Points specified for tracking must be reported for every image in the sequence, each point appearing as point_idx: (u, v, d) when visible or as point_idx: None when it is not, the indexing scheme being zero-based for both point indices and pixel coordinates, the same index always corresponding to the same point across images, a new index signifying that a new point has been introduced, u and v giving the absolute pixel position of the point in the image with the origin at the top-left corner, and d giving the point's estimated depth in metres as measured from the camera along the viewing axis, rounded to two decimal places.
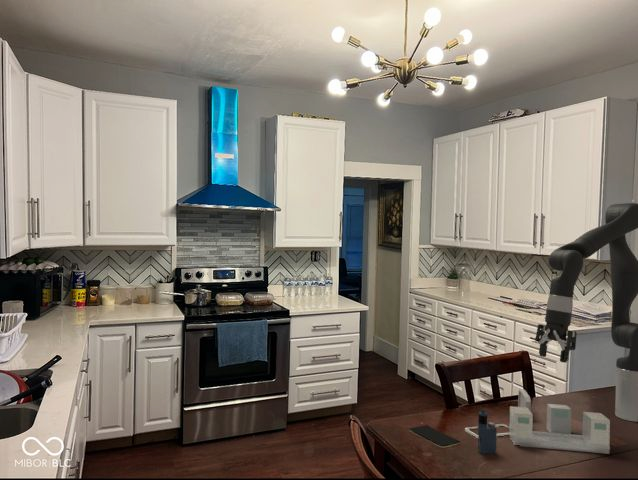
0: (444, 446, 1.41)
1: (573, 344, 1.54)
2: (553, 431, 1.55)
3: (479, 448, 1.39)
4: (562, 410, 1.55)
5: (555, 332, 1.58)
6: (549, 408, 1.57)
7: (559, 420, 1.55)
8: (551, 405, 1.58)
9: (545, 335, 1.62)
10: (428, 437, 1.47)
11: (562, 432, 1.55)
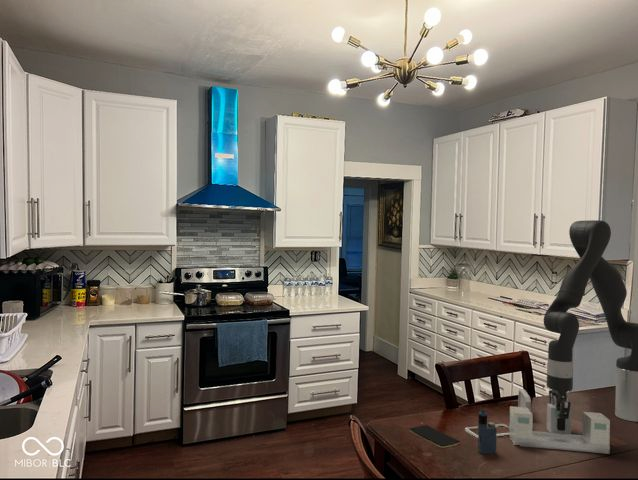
0: (444, 446, 1.41)
1: (567, 413, 1.52)
2: (553, 431, 1.55)
3: (479, 448, 1.39)
4: None
5: (554, 398, 1.56)
6: (549, 408, 1.57)
7: None
8: (551, 405, 1.58)
9: (551, 401, 1.59)
10: (428, 437, 1.47)
11: (562, 432, 1.55)
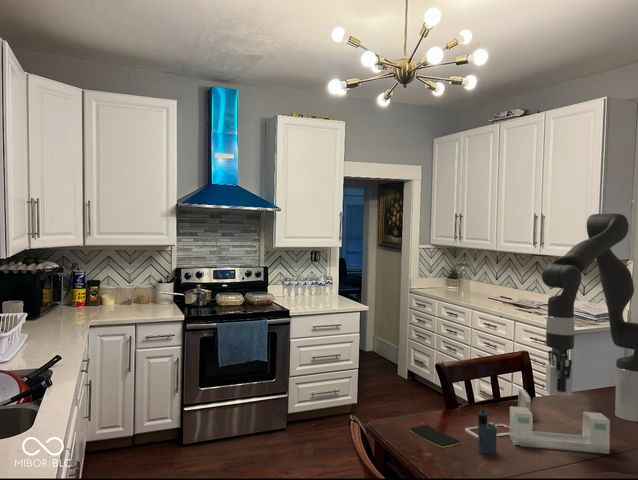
0: (444, 446, 1.41)
1: (567, 373, 1.41)
2: (553, 392, 1.44)
3: (479, 448, 1.39)
4: None
5: (554, 357, 1.45)
6: (548, 368, 1.46)
7: None
8: (550, 365, 1.47)
9: (551, 361, 1.48)
10: (428, 437, 1.47)
11: (562, 393, 1.44)
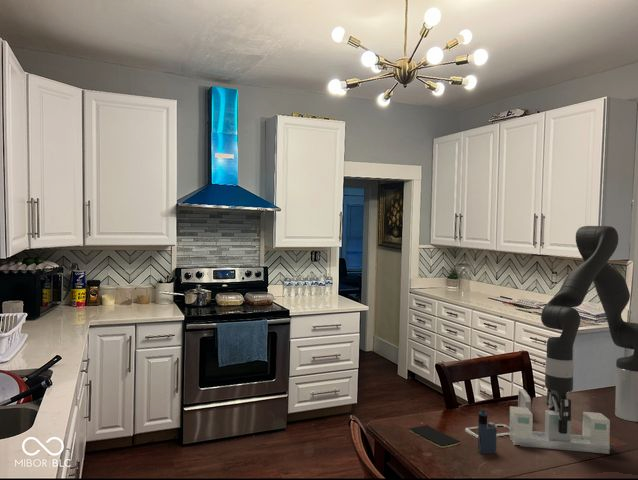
0: (444, 446, 1.41)
1: (568, 414, 1.39)
2: None
3: (479, 448, 1.39)
4: None
5: (553, 399, 1.44)
6: (547, 415, 1.46)
7: None
8: (549, 412, 1.46)
9: (549, 400, 1.48)
10: (428, 437, 1.47)
11: None
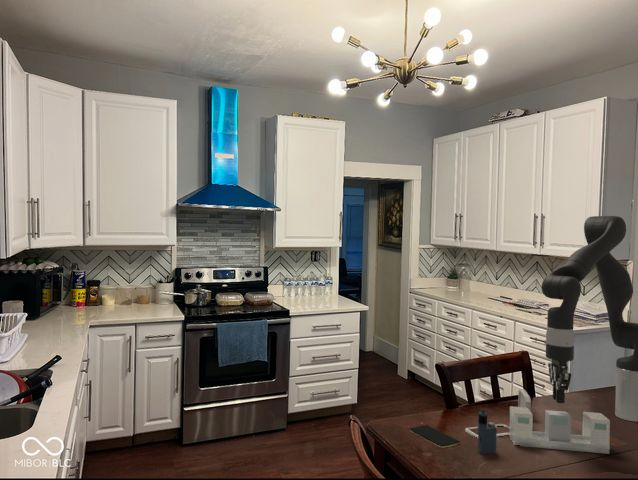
0: (444, 446, 1.41)
1: (566, 385, 1.41)
2: None
3: (479, 448, 1.39)
4: (561, 418, 1.43)
5: (553, 369, 1.45)
6: (547, 415, 1.46)
7: (558, 427, 1.44)
8: (549, 412, 1.46)
9: (551, 373, 1.47)
10: (428, 437, 1.47)
11: None
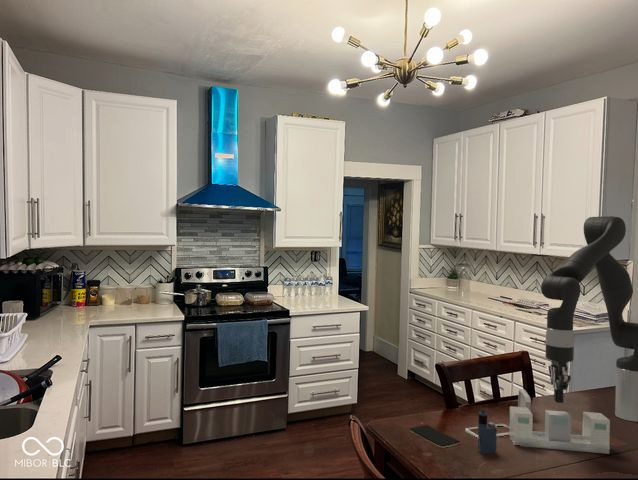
0: (444, 446, 1.41)
1: (565, 385, 1.42)
2: None
3: (479, 448, 1.39)
4: (561, 418, 1.43)
5: (553, 369, 1.45)
6: (547, 415, 1.46)
7: (558, 427, 1.44)
8: (549, 412, 1.46)
9: (551, 374, 1.47)
10: (428, 437, 1.47)
11: None
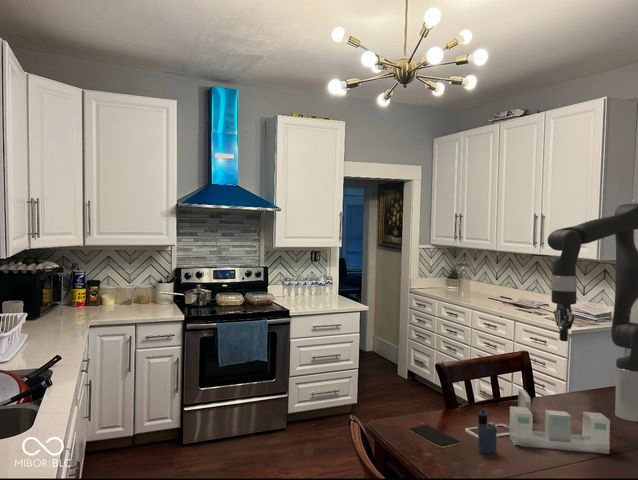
0: (444, 446, 1.41)
1: (569, 325, 1.61)
2: None
3: (479, 448, 1.39)
4: (561, 418, 1.43)
5: (559, 312, 1.63)
6: (547, 415, 1.46)
7: (558, 427, 1.44)
8: (549, 412, 1.46)
9: (557, 316, 1.66)
10: (428, 437, 1.47)
11: None
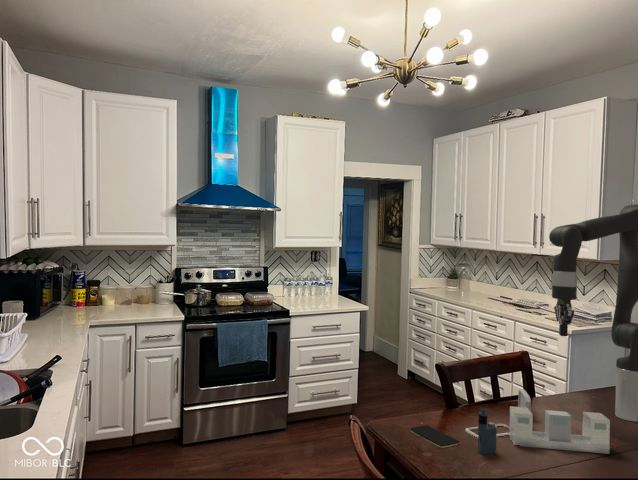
0: (444, 446, 1.41)
1: (569, 320, 1.63)
2: None
3: (479, 448, 1.39)
4: (561, 418, 1.43)
5: (559, 307, 1.65)
6: (547, 415, 1.46)
7: (558, 427, 1.44)
8: (549, 412, 1.46)
9: (557, 312, 1.68)
10: (428, 437, 1.47)
11: None
